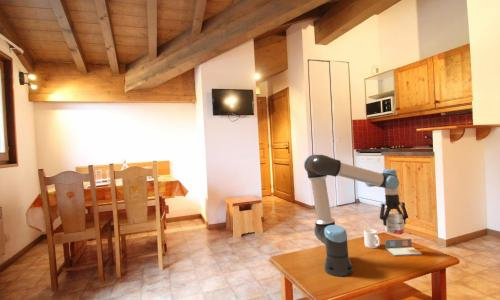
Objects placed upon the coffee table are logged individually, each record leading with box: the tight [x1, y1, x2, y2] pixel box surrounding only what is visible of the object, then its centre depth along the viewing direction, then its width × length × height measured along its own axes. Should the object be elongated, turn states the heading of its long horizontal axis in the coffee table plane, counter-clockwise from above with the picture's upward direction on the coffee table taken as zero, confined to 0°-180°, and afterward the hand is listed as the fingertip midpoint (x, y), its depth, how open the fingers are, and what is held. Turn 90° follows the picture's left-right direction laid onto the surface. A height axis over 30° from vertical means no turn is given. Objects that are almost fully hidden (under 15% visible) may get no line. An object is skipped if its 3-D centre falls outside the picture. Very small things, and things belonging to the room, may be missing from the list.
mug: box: [363, 228, 381, 249], centre depth 174 cm, size 12×8×10 cm
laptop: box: [384, 238, 423, 257], centre depth 163 cm, size 16×12×6 cm
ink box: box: [386, 212, 405, 235], centre depth 163 cm, size 8×5×12 cm, turn 39°
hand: (395, 230), depth 163 cm, fingers closed on ink box, 9 cm apart
